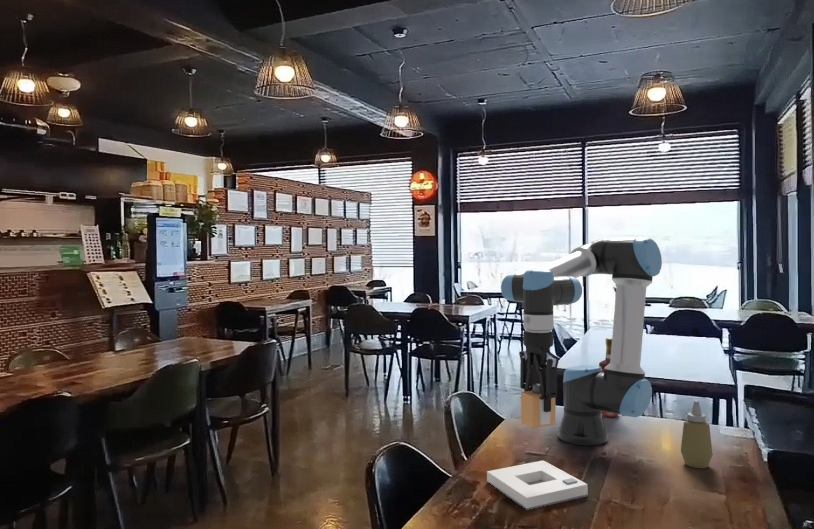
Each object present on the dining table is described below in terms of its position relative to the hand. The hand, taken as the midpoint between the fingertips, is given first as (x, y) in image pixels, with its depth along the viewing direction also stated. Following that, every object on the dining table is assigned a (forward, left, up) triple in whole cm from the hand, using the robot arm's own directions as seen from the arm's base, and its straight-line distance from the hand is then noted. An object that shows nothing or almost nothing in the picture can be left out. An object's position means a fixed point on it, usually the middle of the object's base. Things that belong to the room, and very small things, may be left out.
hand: (538, 420), depth 151 cm
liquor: (-41, +61, -18) cm, 75 cm away
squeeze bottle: (+6, +49, -18) cm, 52 cm away
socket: (0, -1, -17) cm, 17 cm away
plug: (0, 0, -1) cm, 1 cm away
